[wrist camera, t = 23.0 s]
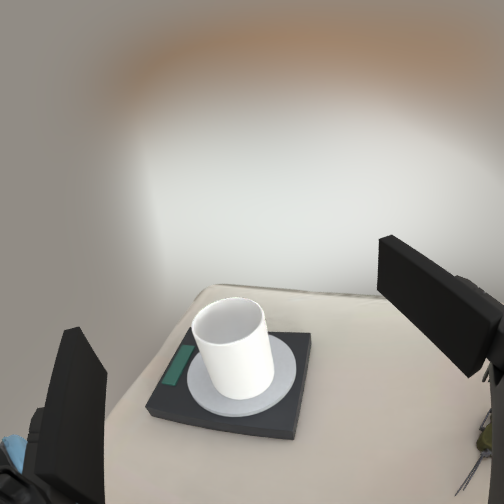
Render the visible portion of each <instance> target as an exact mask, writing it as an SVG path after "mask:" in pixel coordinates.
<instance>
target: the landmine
mask: <svg viewBox="0 0 504 504" xmlns="http://www.w3.org/2000/svg"><path fill="white" fill-rule="evenodd" d="M489 413H492V408H490V410H489V412H488V414H487V416H486V418H485V419H484V421H483V423H482V425H481V427H480V429H479V430H481V431H483V432H482V433H481V435H480V437H479V439H478V441H477V448H478V449H479V450H480V451H482V453H481V454H480V455H481V457H480V458H479V460H478V461H477V463H476V465H475V466H474V468H473V469H472V471H471V473H472V472H473V470H474V469H475V470H474V472H473V473H472V475H471V473H470V474H469V476H468V477H467V479H466V480H465V482H464V483H463V484H462V486H461V487H460V489H461V488H462V487H463V485H464V484H465V483H466V481H467V480H468V478H469V477H470V475H471V477H470V478H469V480H468V482H467V483H466V485H465V487H464V489H465V488H466V486H467V484H468V483H469V481H470V480H471V478H472V476H473V474H474V473H475V471H476V469H477V467H478V466H479V464H480V462H481V460H482V458H483V457H488V456H491V457H492V414H491V416H490V418H491V423H490V424H489V425H487V426H486V428H484V427H482V426H483V424H484V422H485V421H486V419H487V417H488V415H489ZM478 462H479V463H478ZM477 464H478V465H477ZM475 467H476V468H475ZM460 489H459V490H458V492H459V491H460ZM464 489H463V491H464ZM458 492H457V493H458ZM457 493H456V494H455V496H456V495H457Z"/></svg>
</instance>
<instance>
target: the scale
mask: <svg viewBox="0 0 504 504" xmlns="http://www.w3.org/2000/svg"><path fill="white" fill-rule="evenodd" d="M268 337H269V342H270V347H271V353H272V358H273V363H274V377H273V380H272V382H271V384H270V386H269V387H268V388H267V389H266V390H265V391H264V392H262V393H261V394H259V395H257V396H255V397H253V398H249V399H243V400H236V399H231V398H228V397H225V396H224V395H222V394H221V393H219V392H218V391H217V389H216V388H215V387H214V385H213V383H212V381H211V378H210V376H209V373H208V371H207V368H206V366H205V363H204V361H203V358H202V356H201V353H200V351H199V348H198V346H197V343H196V341H195V338H194V335H193V333H192V327H190V328H189V330H188V331H187V333H186V335H185V337H184V338H183V340H182V342H181V344H180V345H179V347H178V349H177V351H176V352H175V354H174V356H173V358H172V359H171V361H170V363H169V365H168V367H167V368H166V370H165V372H164V374H163V375H162V377H161V379H160V381H159V383H158V384H157V386H156V388H155V390H154V391H153V393H152V395H151V397H150V399H149V400H148V402H147V404H146V406H145V407H146V409H147V410H148V411H149V413H150V414H151V416H154V417H158V418H162V419H166V420H170V421H175V422H179V423H184V424H188V425H193V426H198V427H203V428H208V429H214V430H219V431H225V432H232V433H238V434H245V435H252V436H260V437H269V438H279V439H290V440H294V437H295V432H296V428H297V423H298V417H299V412H300V407H301V402H302V396H303V391H304V385H305V379H306V374H307V368H308V362H309V355H310V349H311V333H292V332H268Z"/></svg>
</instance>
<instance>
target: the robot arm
mask: <svg viewBox="0 0 504 504" xmlns="http://www.w3.org/2000/svg"><path fill="white" fill-rule="evenodd" d="M378 256H379V257H378V280H377V290H378V291H379V292H380V293H381V294H382V295H383V296H384V297H385V298H386V299H387V300H389V301H390V302H391V303H392V304H393V305H394V306H395V307H396V308H397V309H398V310H399V311H400V312H401V313H402V314H404V315H405V316H406V317H407V318H408V319H409V320H410V321H411V322H412V323H413V324H414V325H415V326H416V327H417V328H418V329H419V330H420V331H421V332H422V333H423V334H424V335H425V336H427V337H428V338H429V339H430V340H431V341H432V342H433V343H434V344H435V345H436V346H437V347H438V348H439V349H440V350H441V351H442V352H443V353H444V354H445V355H446V356H447V357H448V358H449V359H450V360H451V361H452V362H453V363H454V364H455V365H456V366H457V367H458V368H459V369H460V370H461V371H462V372H463V373H464V374H465V375H466V376H467V377H468V378H470V377H471V376H472V375H474V374H475V373H476V372H478V371H479V370H480V369H481V368H482V366H483V363H484V361H485V359H486V358H487V359H488V360H489V361H490V364H489V366H488V368H487V370H486V372H485V374H484V376H483V380H482V382H485V380H486V378H487V376H488V374H489V380H488V382H490V391H491V408H492V462H491V478H490V489H489V499H488V504H504V305H502V304H501V303H500V302H498V301H497V300H496V299H494V298H493V297H492V296H490V295H489V294H487V293H485V292H484V290H482V289H481V288H478V287H477V285H475V284H474V283H472V282H471V281H470V280H468V279H465V278H463V277H460V276H455V277H454V276H453V275H452V274H450V273H449V272H447V271H446V270H445V269H443V268H442V267H440V266H439V265H437V264H436V263H434V262H433V261H431V260H430V259H428V258H427V257H425V256H424V255H423V254H421V253H419V252H418V251H416V250H415V249H413V248H412V247H410V246H409V245H407V244H406V243H404V242H403V241H401V240H400V239H398V238H396V237H395V236H393V235H390V236H386V237H383V238H380V239H379V255H378ZM106 384H107V371H106V370H105V369H104V367H103V365H102V364H101V362H100V360H99V359H98V357H97V356H96V354H95V353H94V351H93V349H92V347H91V346H90V344H89V342H88V341H87V339H86V337H85V336H84V334H83V332H82V330H81V329H80V327H75V328H72V329H68V330H64V333H63V336H62V339H61V343H60V346H59V350H58V353H57V357H56V360H55V364H54V368H53V372H52V376H51V380H50V384H49V388H48V393H47V398H46V402H45V407H43V408H37V410H36V412H35V414H34V415H33V417H32V419H31V423H30V428H29V434H28V438H27V441H26V440H25V439H24V438H22V437H20V436H19V435H11V436H9V437H4V438H3V439H2V442H1V444H0V504H105V492H104V418H105V399H106Z"/></svg>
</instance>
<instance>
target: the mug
mask: <svg viewBox="0 0 504 504" xmlns="http://www.w3.org/2000/svg"><path fill="white" fill-rule="evenodd" d="M192 333H193V335H194V338H195V341H196V343H197V346H198V348H199V351H200V353H201V356H202V358H203V361H204V363H205V366H206V368H207V371H208V373H209V376H210V378H211V381H212V383H213V385H214V387H215V388H216V389H217V391H218V392H219V393H221V394H222V395H224V396H225V397H228V398H231V399H236V400H243V399H249V398H253V397H255V396H257V395H259V394H261V393H262V392H264V391H265V390H266V389H267V388H268V387H269V386H270V384H271V382H272V380H273V377H274V363H273V358H272V353H271V347H270V342H269V337H268V332H267V326H266V321H265V316H264V312H263V309H262V308H261V306H260V305H259V304H258V303H256V302H255V301H253V300H250V299H247V298H241V297H231V298H225V299H221V300H217V301H215V302H212V303H210V304H208V305H207V306H205V307H204V308H202V309H201V310H200V311H199V312H198V313H197V314H196V316H195V317H194V319H193V321H192Z"/></svg>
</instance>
